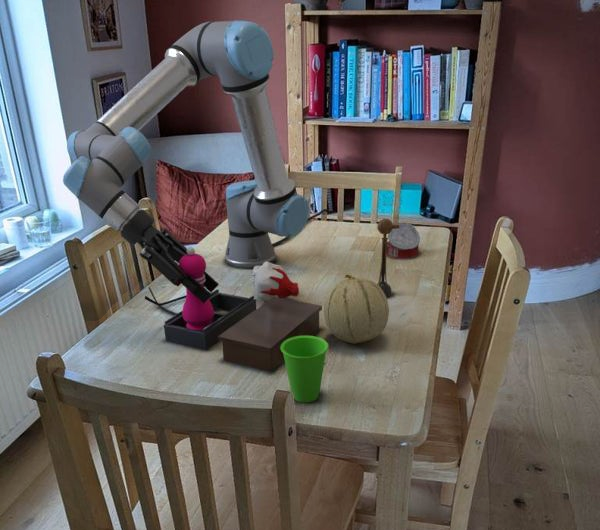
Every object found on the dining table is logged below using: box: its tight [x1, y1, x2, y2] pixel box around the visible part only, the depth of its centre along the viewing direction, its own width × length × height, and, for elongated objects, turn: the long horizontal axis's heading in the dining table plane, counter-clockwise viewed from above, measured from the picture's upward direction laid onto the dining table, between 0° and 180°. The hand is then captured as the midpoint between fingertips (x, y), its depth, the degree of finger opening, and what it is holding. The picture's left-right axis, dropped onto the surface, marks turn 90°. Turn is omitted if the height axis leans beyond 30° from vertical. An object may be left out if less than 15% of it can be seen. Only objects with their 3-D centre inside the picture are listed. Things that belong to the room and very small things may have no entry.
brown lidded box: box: [218, 297, 323, 373], centre depth 143 cm, size 24×13×6 cm, turn 152°
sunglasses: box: [144, 286, 186, 316], centre depth 163 cm, size 17×14×5 cm
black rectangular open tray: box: [163, 288, 257, 351], centre depth 152 cm, size 22×12×5 cm, turn 152°
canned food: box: [386, 222, 421, 260], centre depth 195 cm, size 11×10×10 cm
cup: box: [280, 335, 329, 403], centre depth 122 cm, size 9×9×11 cm
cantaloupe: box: [323, 273, 390, 345], centre depth 142 cm, size 15×15×15 cm
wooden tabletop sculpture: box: [376, 218, 399, 298], centre depth 163 cm, size 6×5×20 cm
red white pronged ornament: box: [251, 262, 300, 303], centre depth 165 cm, size 9×11×15 cm
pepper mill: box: [178, 246, 214, 332], centre depth 144 cm, size 7×7×20 cm
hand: (211, 293), depth 144 cm, fingers closed on pepper mill, 5 cm apart
